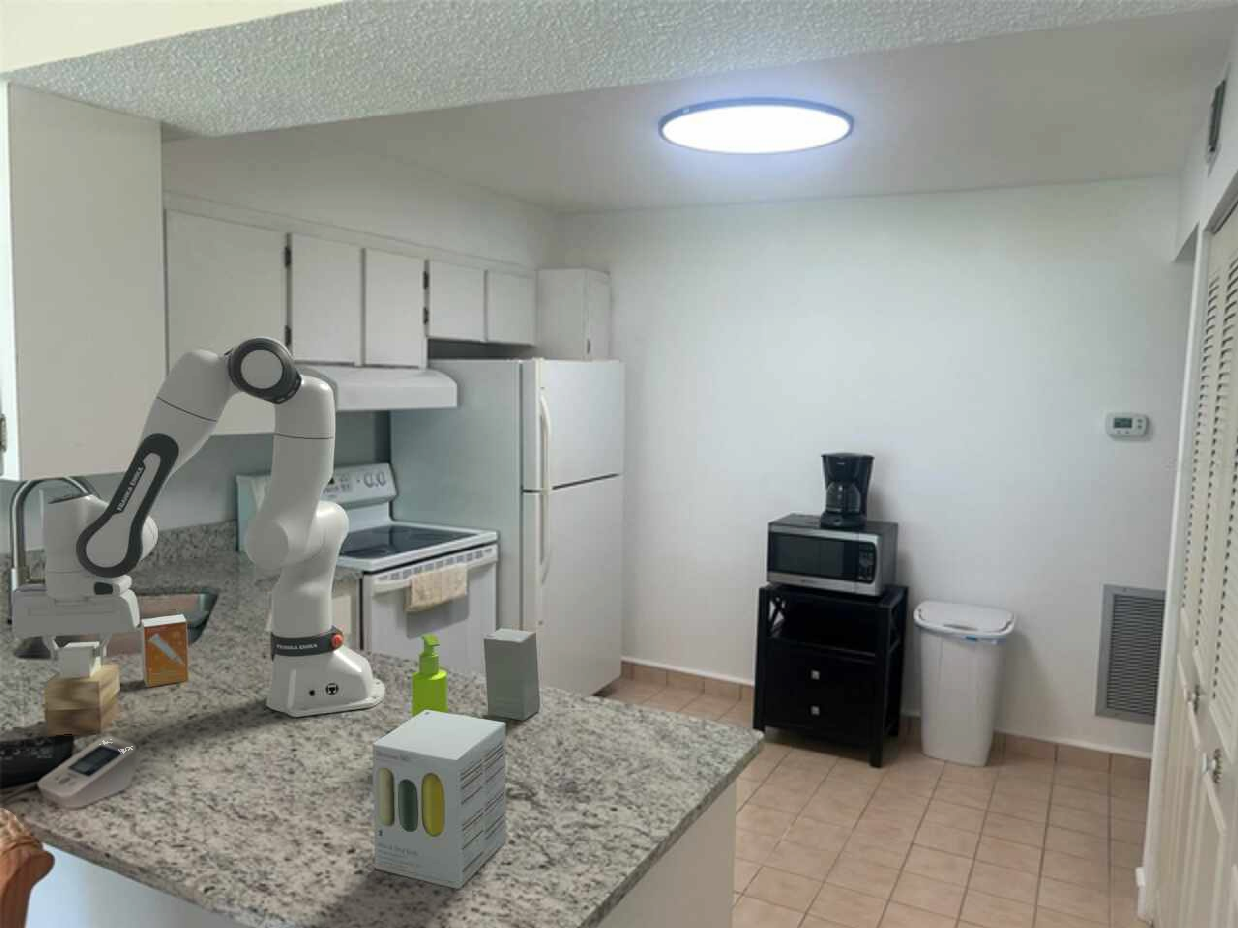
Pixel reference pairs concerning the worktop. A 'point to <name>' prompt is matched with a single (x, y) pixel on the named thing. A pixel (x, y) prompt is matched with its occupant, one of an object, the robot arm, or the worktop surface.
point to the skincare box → (512, 674)
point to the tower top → (82, 690)
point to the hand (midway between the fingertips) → (79, 657)
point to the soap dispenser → (429, 680)
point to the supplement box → (439, 797)
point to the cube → (78, 660)
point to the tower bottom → (81, 719)
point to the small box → (164, 650)
